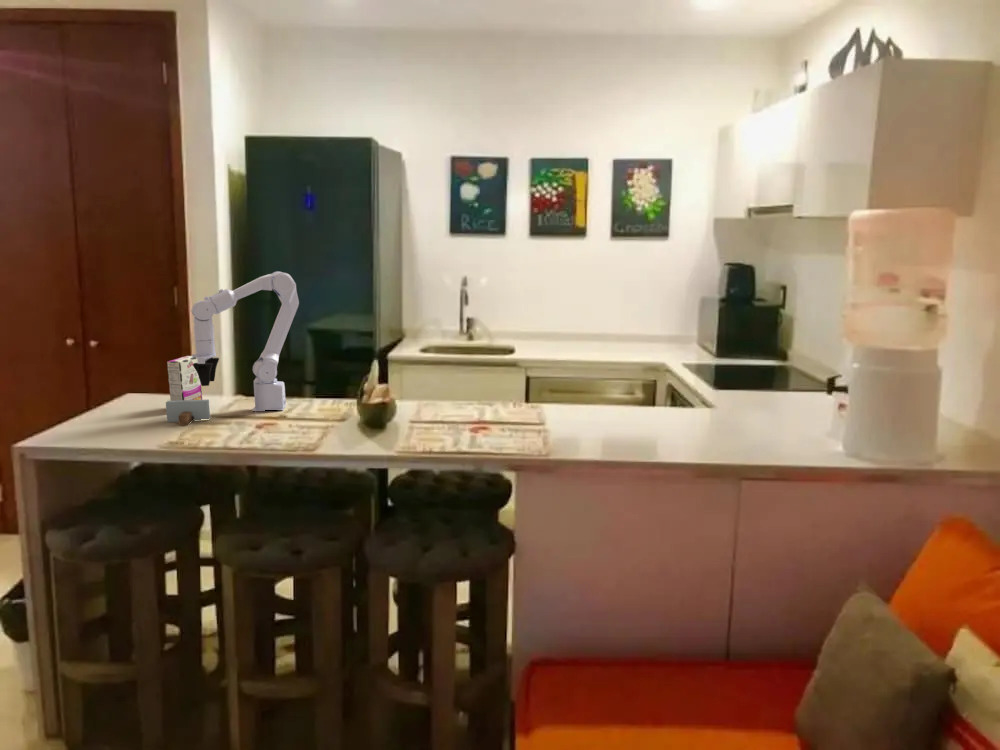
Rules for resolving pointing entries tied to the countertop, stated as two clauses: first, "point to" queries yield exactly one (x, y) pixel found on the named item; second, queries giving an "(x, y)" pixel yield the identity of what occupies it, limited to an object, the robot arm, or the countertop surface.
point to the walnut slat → (185, 418)
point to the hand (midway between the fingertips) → (208, 383)
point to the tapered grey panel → (187, 409)
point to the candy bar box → (184, 379)
